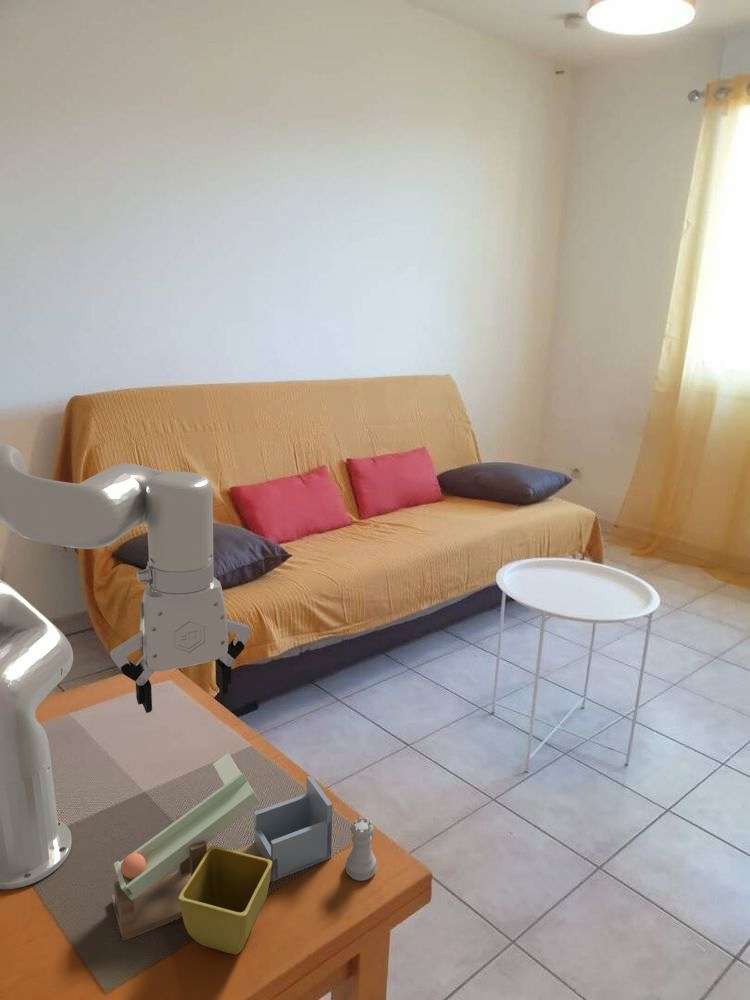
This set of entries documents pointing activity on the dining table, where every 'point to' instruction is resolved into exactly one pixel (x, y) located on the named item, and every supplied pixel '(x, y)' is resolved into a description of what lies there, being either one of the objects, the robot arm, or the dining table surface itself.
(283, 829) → the blue-grey box
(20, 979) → the dining table surface
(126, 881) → the lever
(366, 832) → the rook chess piece
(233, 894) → the flower pot
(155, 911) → the catapult base
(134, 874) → the ball
